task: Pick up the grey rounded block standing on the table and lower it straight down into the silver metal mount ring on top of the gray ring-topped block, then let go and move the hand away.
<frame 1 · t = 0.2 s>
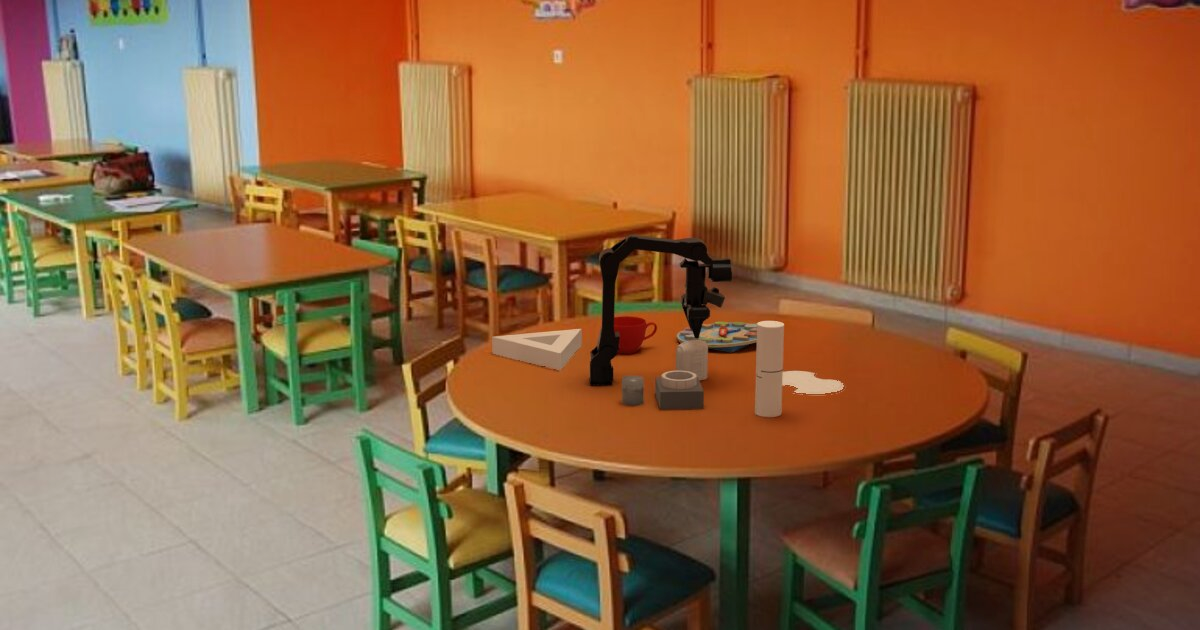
hand: (694, 333, 354), 14 cm above the table, tool pointing down, fingers open, 9 cm apart
cylindrical container: (768, 413, 328), on the table
ceramic cup: (631, 351, 390), on the table
white puddle shape: (805, 385, 354), on the table
grey rounded block: (632, 402, 338), on the table
shape sorting clock: (722, 342, 400), on the table
white rounded device: (691, 381, 358), on the table
triangle block: (548, 362, 380), on the table
gray ring-topped block: (678, 401, 339), on the table
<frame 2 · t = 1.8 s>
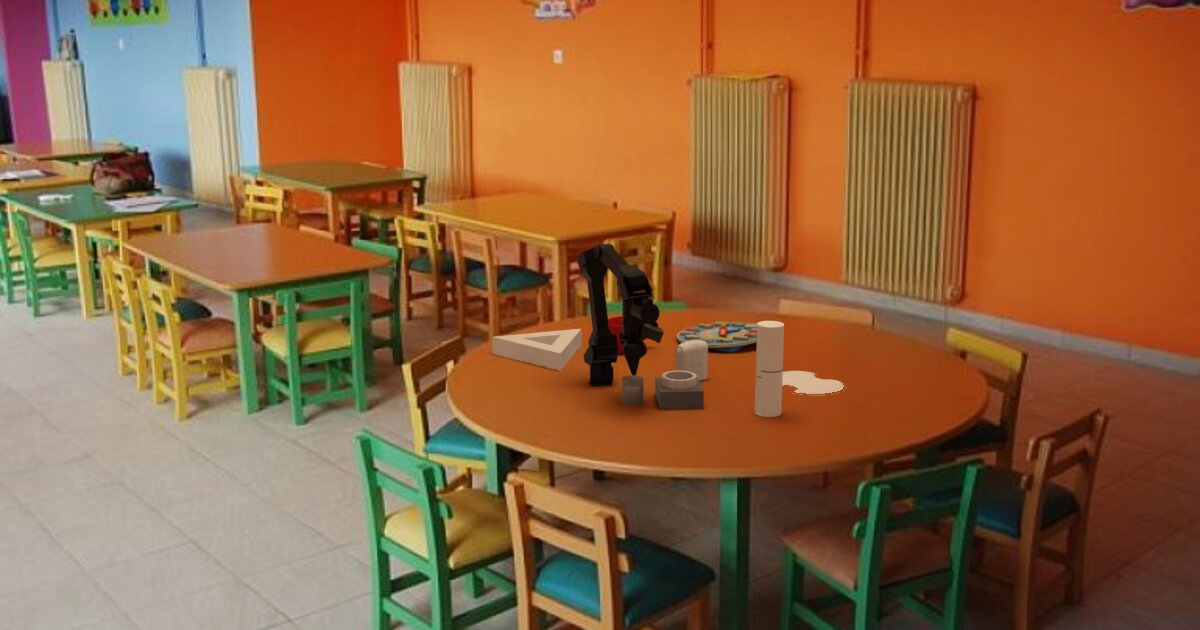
hand: (632, 370, 336), 9 cm above the table, tool pointing down, fingers open, 9 cm apart
nothing on the table moved.
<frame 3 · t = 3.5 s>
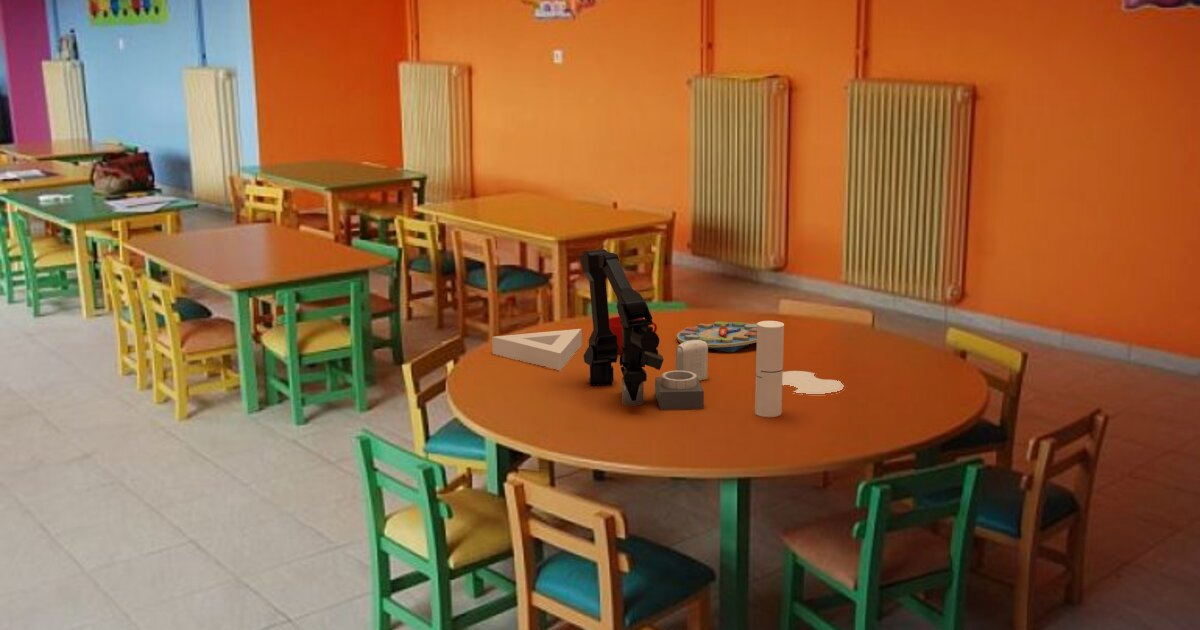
hand: (632, 397, 338), 2 cm above the table, tool pointing down, fingers closed on grey rounded block, 6 cm apart
grey rounded block: (632, 402, 338), on the table, touching gripper
everything else where it was.
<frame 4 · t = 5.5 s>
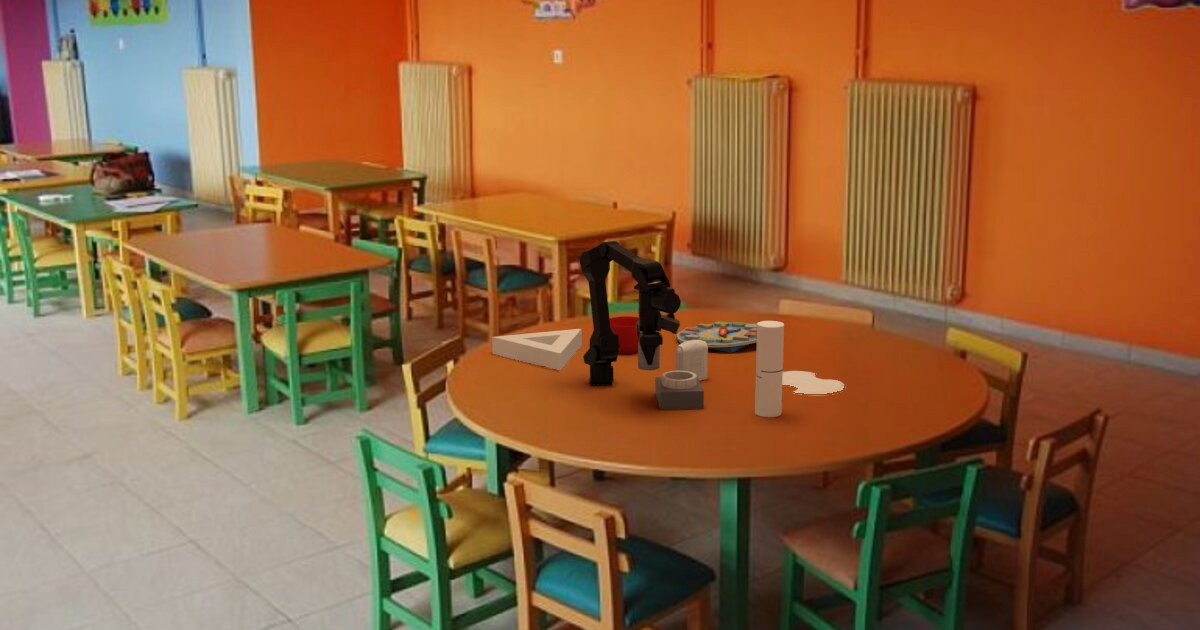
hand: (649, 361, 335), 12 cm above the table, tool pointing down, fingers closed on grey rounded block, 6 cm apart
grey rounded block: (648, 367, 336), point 10 cm above the table, touching gripper
everything else where it was.
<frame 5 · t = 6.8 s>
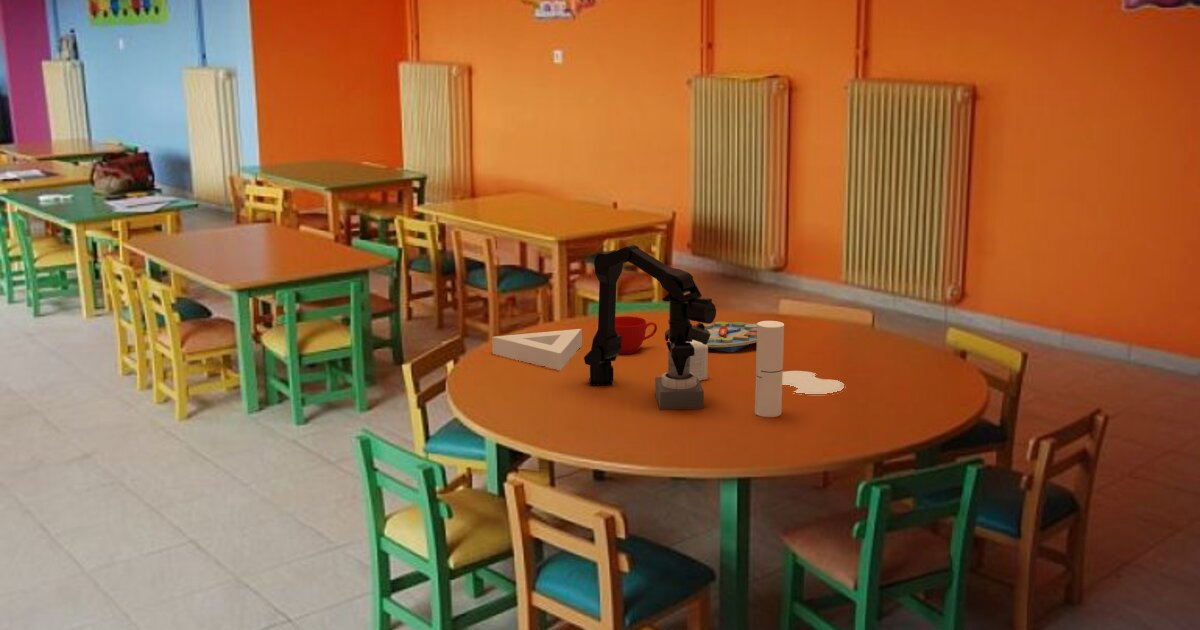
hand: (679, 372, 337), 8 cm above the table, tool pointing down, fingers closed on grey rounded block, 6 cm apart
grey rounded block: (678, 377, 337), point 7 cm above the table, touching gripper
everything else where it was.
when the fingers open (8 cm above the table, at t = 7.8 s): grey rounded block drops 2 cm, resting on gray ring-topped block.
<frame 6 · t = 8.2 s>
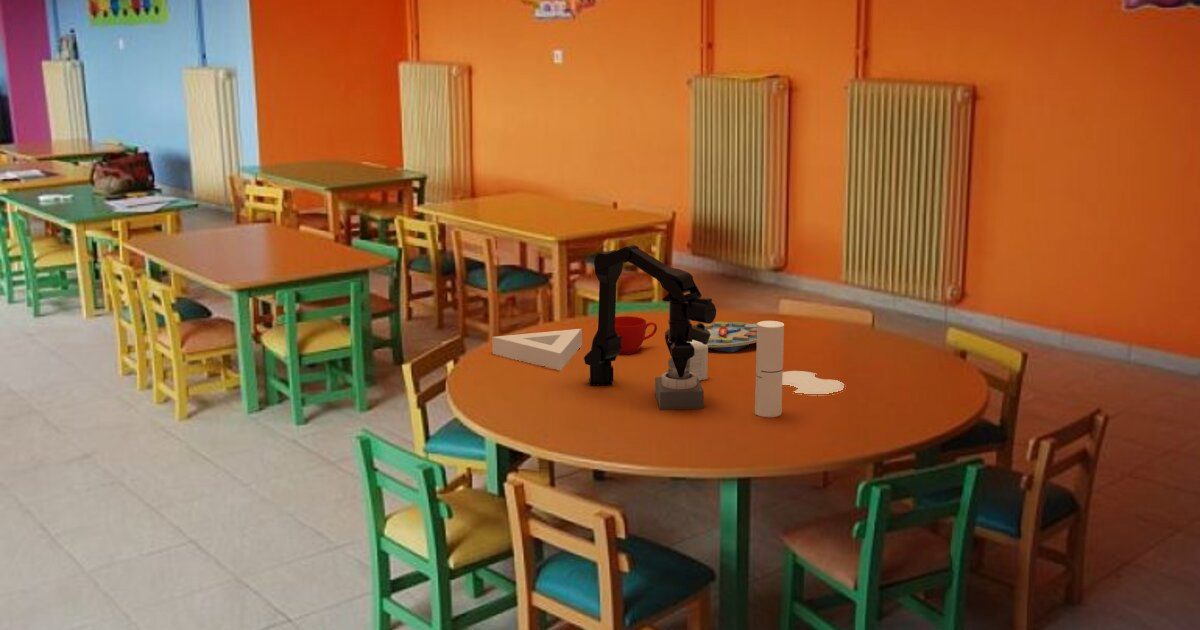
hand: (679, 372, 337), 8 cm above the table, tool pointing down, fingers open, 9 cm apart
grey rounded block: (678, 384, 338), point 5 cm above the table, touching gray ring-topped block
everything else where it was.
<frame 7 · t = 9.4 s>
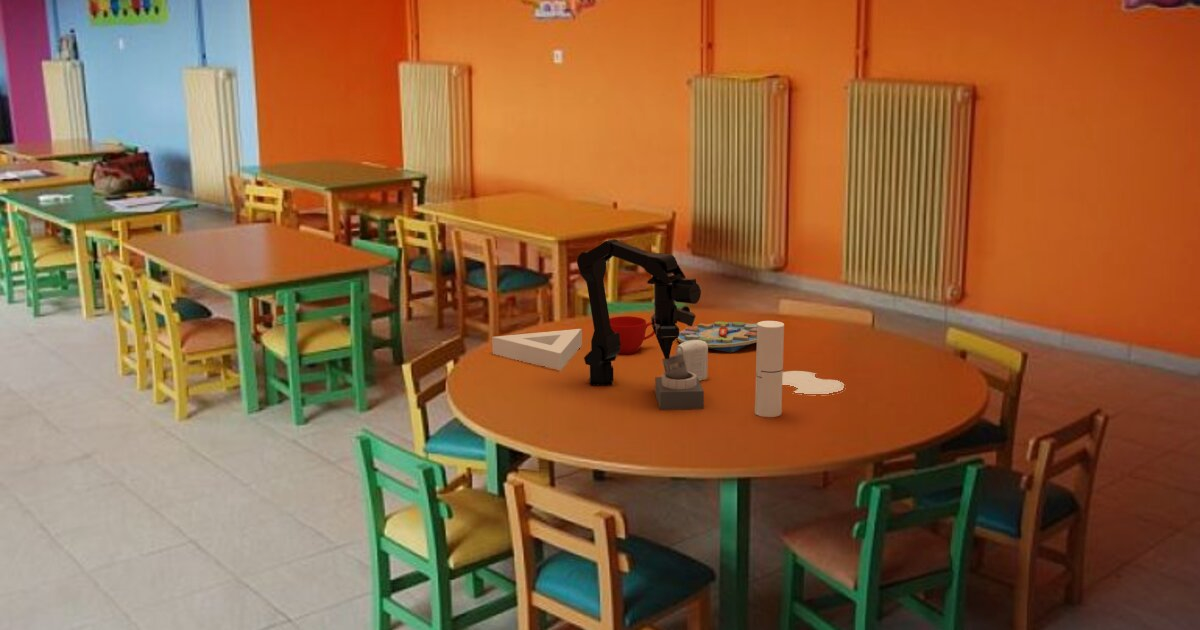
hand: (665, 354, 339), 13 cm above the table, tool pointing down, fingers open, 9 cm apart
grey rounded block: (678, 381, 337), point 6 cm above the table, tilted 17°, touching gray ring-topped block
everything else where it was.
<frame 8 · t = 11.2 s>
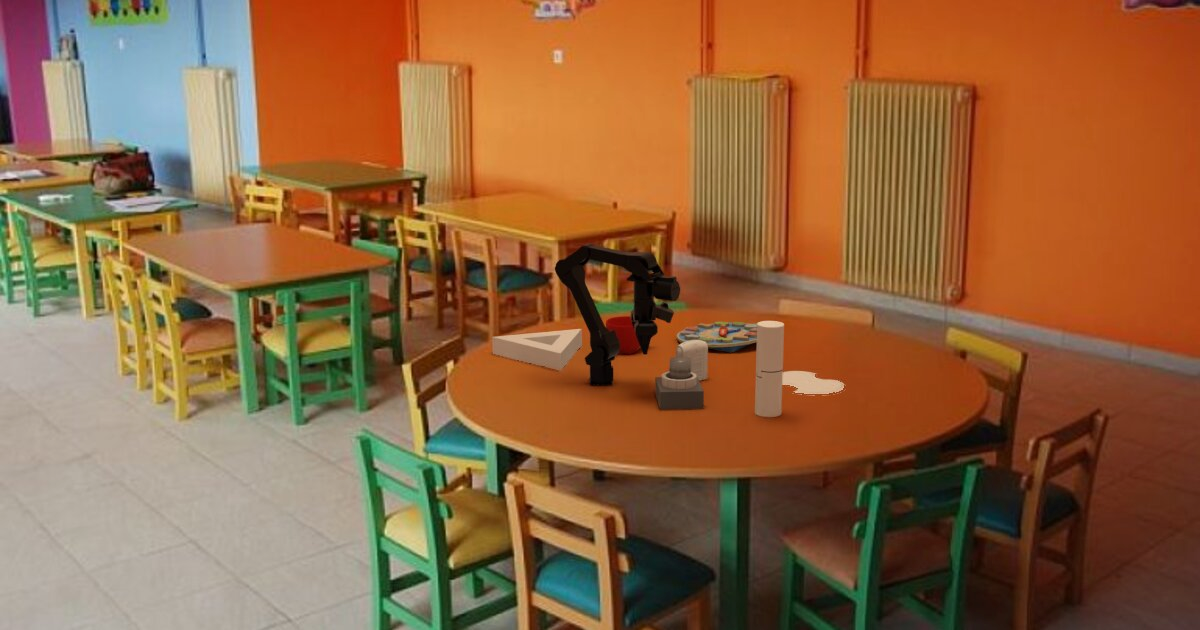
hand: (643, 350, 346), 12 cm above the table, tool pointing down, fingers open, 9 cm apart
grey rounded block: (680, 383, 338), point 5 cm above the table, touching gray ring-topped block
everything else where it was.
at the end: grey rounded block 0.4 cm off-centre on the gray ring-topped block, point 5.0 cm above the gray ring-topped block's base; grey rounded block tilted 1°; the gripper is holding nothing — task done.
